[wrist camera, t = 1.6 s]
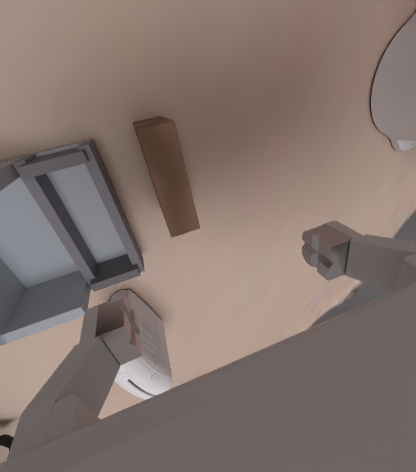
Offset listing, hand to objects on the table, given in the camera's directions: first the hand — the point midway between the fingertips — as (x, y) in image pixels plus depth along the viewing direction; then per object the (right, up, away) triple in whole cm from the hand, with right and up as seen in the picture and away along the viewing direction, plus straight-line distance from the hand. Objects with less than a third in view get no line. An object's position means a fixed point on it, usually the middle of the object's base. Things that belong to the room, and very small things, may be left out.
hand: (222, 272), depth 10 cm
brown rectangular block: (-6, +10, +17) cm, 21 cm away
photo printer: (-12, -10, +27) cm, 31 cm away
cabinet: (-18, +3, +17) cm, 25 cm away
